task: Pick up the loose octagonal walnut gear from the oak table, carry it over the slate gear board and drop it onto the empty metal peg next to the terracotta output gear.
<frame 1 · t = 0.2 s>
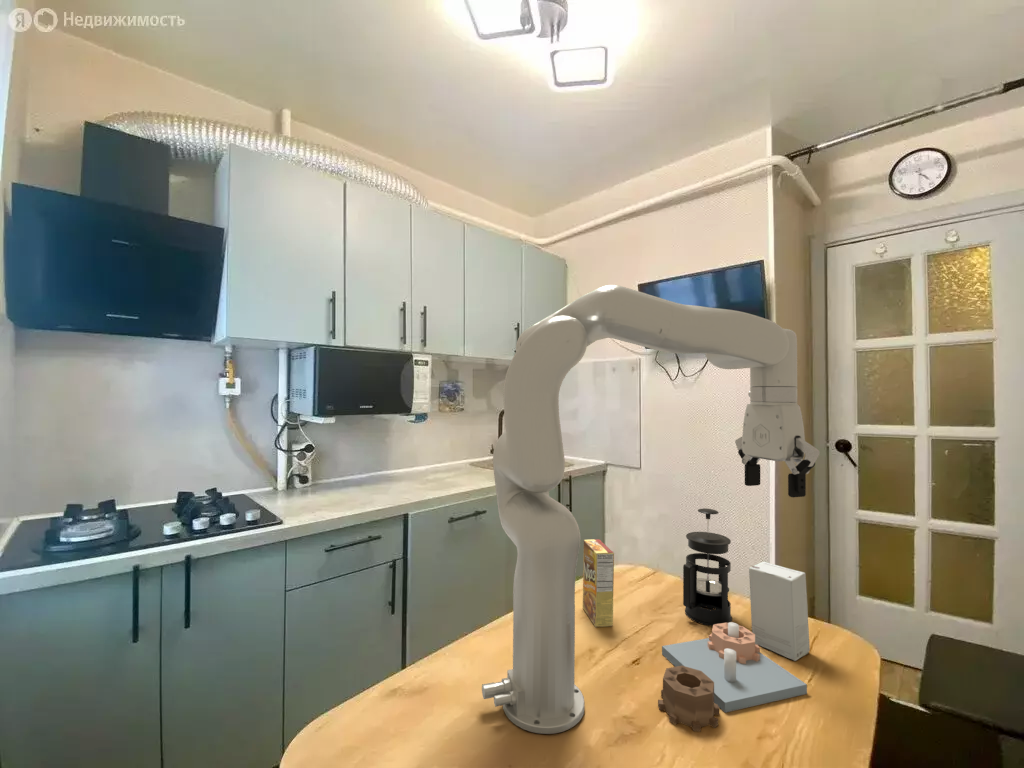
hand: (773, 490, 83), 31 cm above the table, fingers open, 9 cm apart
skincare box: (778, 648, 87), on the table
french press: (706, 617, 99), on the table
candy box: (597, 617, 99), on the table
walnut gear: (688, 710, 70), on the table
gear board: (729, 672, 79), on the table
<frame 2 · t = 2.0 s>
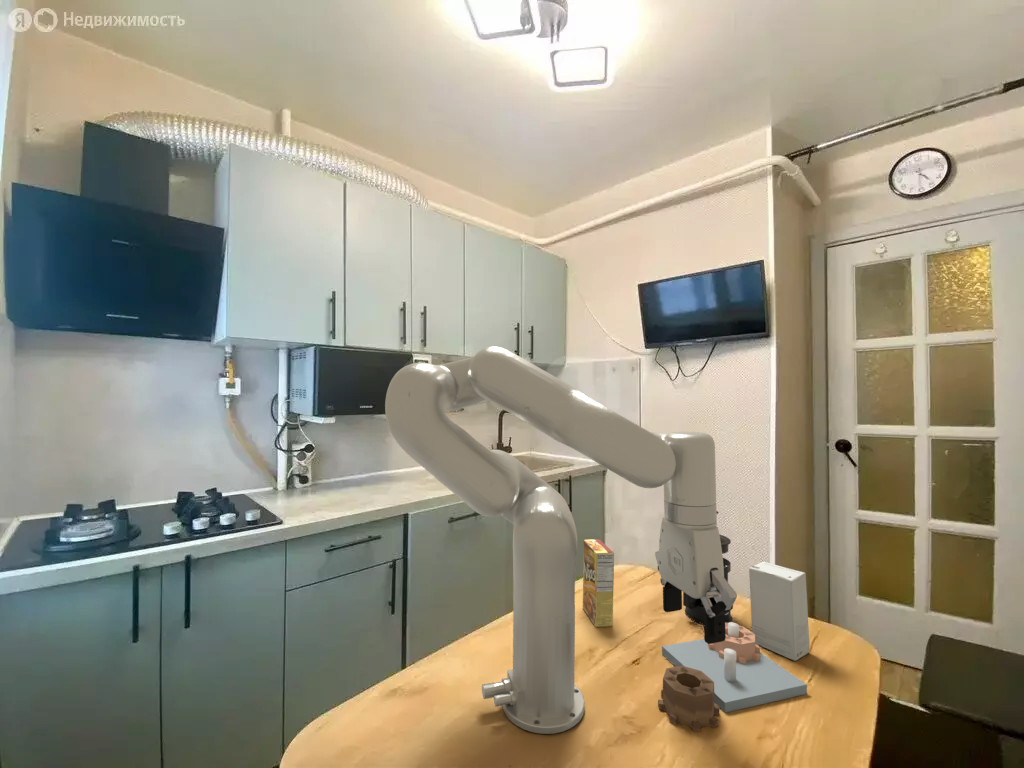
hand: (692, 625, 70), 13 cm above the table, fingers open, 9 cm apart
nothing on the table moved.
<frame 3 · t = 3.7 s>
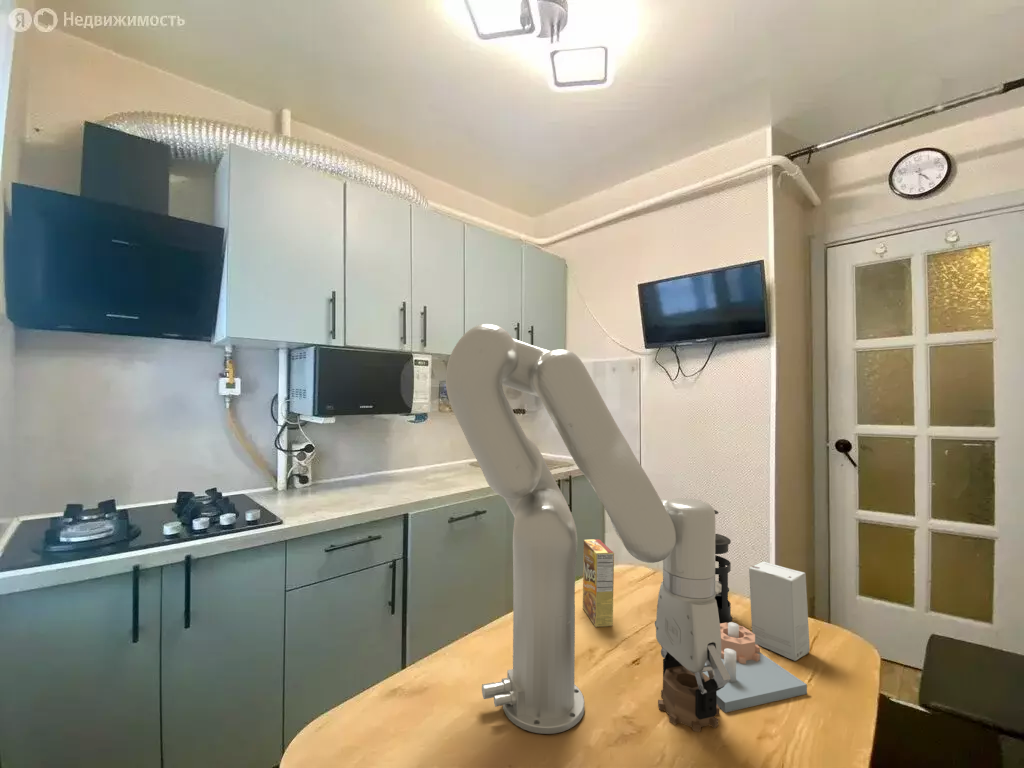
hand: (688, 698, 70), 2 cm above the table, fingers closed on walnut gear, 7 cm apart
walnut gear: (688, 710, 70), on the table, touching gripper
everything else where it was.
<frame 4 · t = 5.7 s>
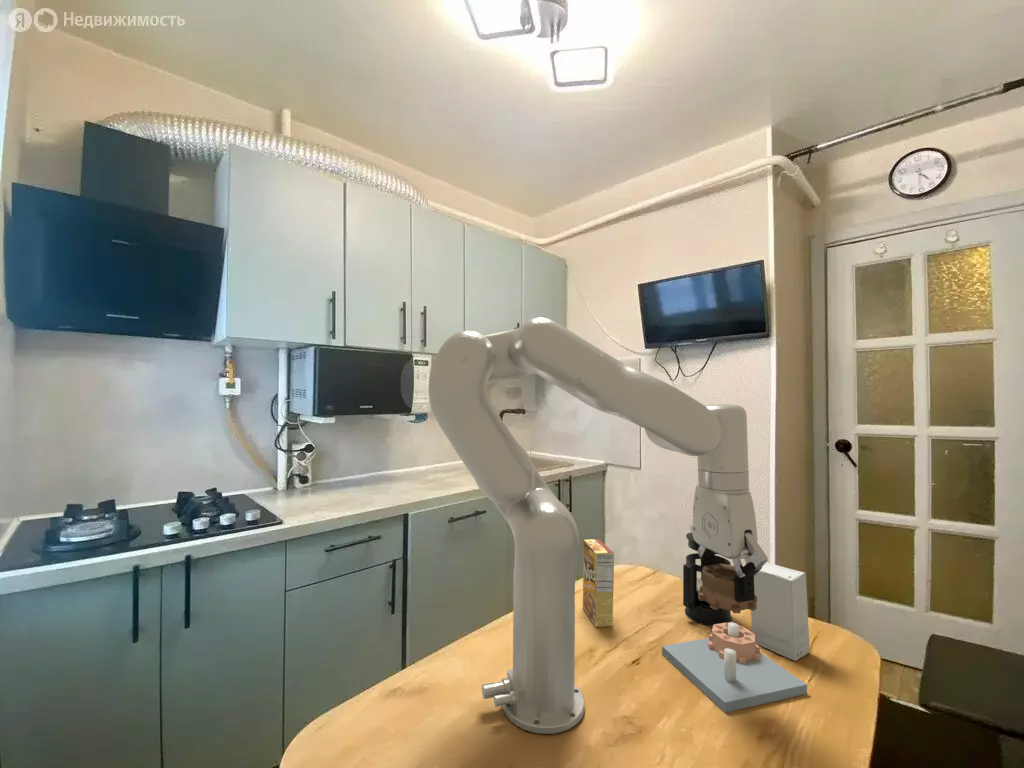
hand: (726, 589, 74), 17 cm above the table, fingers closed on walnut gear, 7 cm apart
walnut gear: (727, 600, 74), point 15 cm above the table, touching gripper
everything else where it was.
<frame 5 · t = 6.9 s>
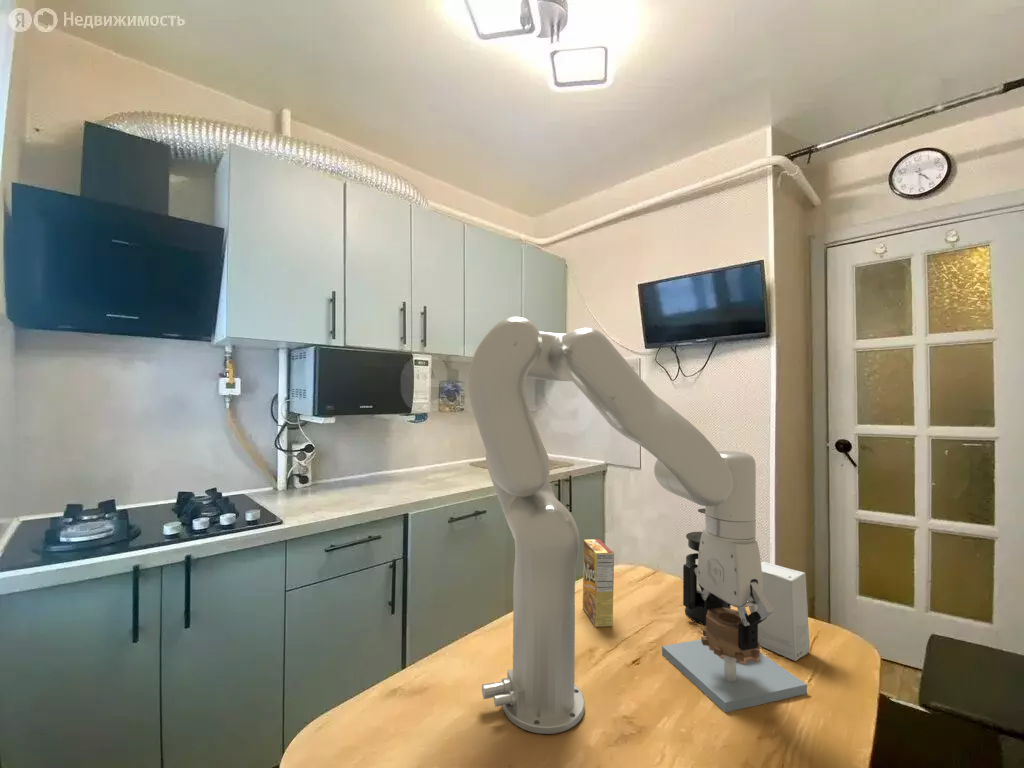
hand: (729, 634, 75), 9 cm above the table, fingers closed on walnut gear, 7 cm apart
walnut gear: (730, 645, 75), point 7 cm above the table, touching gripper
everything else where it was.
when the fingers open (9 cm above the table, at t = 7.6 s): walnut gear drops 5 cm, resting on gear board.
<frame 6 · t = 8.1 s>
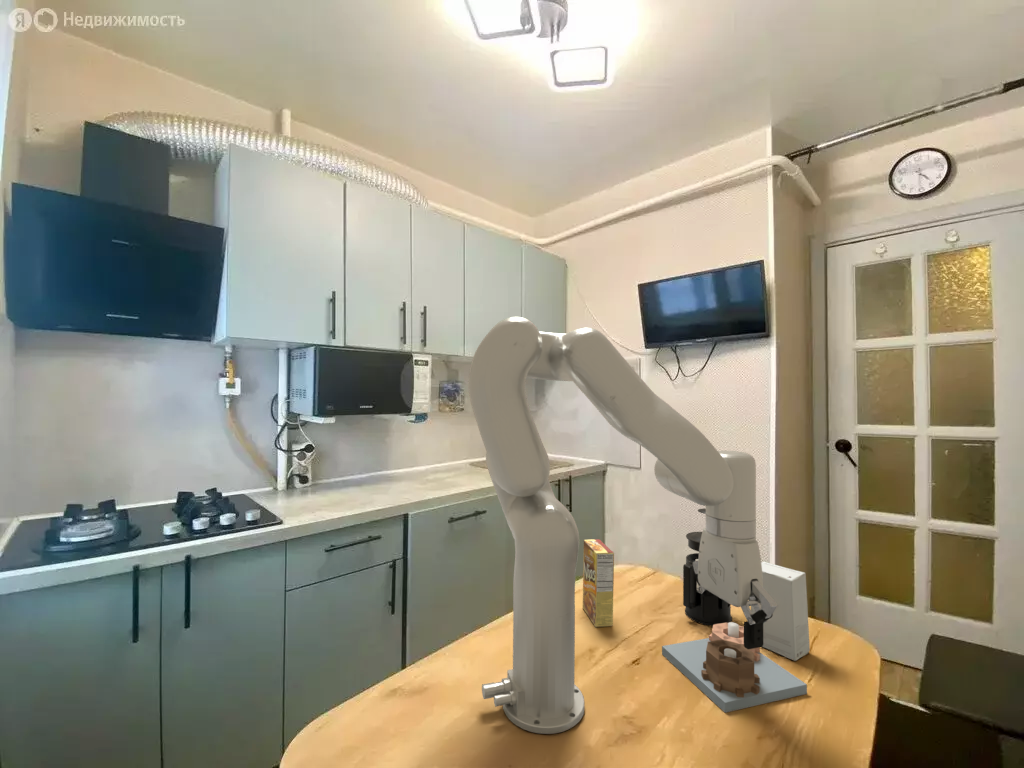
hand: (730, 631, 75), 9 cm above the table, fingers open, 9 cm apart
walnut gear: (730, 679, 75), point 1 cm above the table, touching gear board
everything else where it was.
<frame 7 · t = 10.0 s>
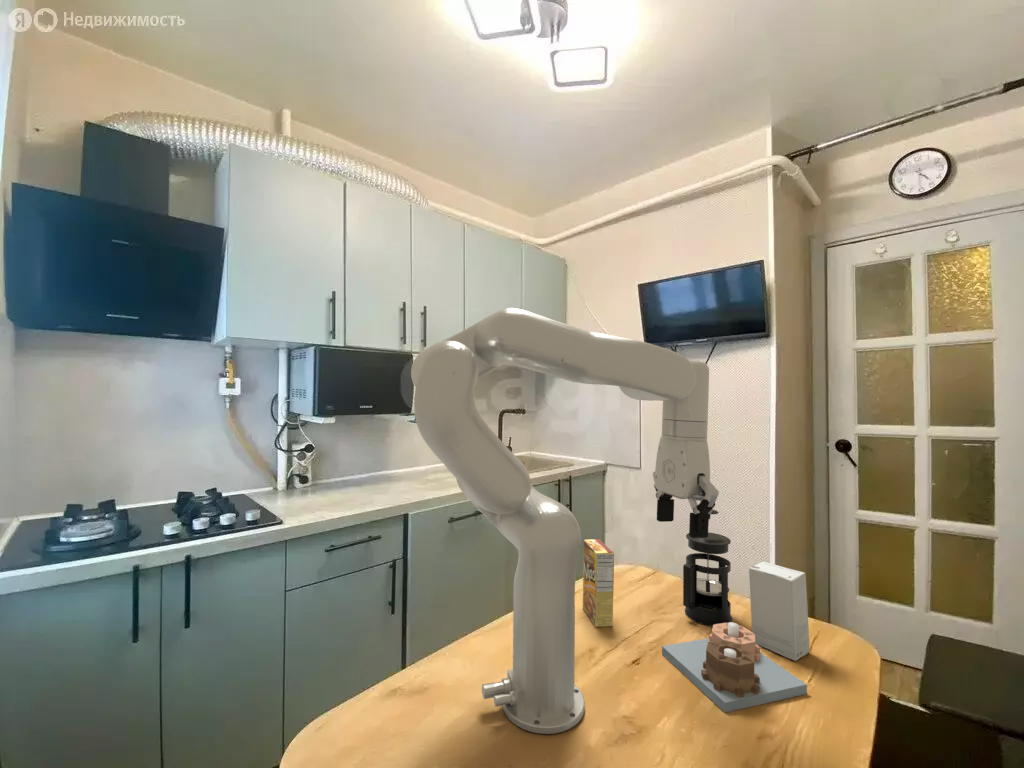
hand: (680, 528, 80), 25 cm above the table, fingers open, 9 cm apart
nothing on the table moved.
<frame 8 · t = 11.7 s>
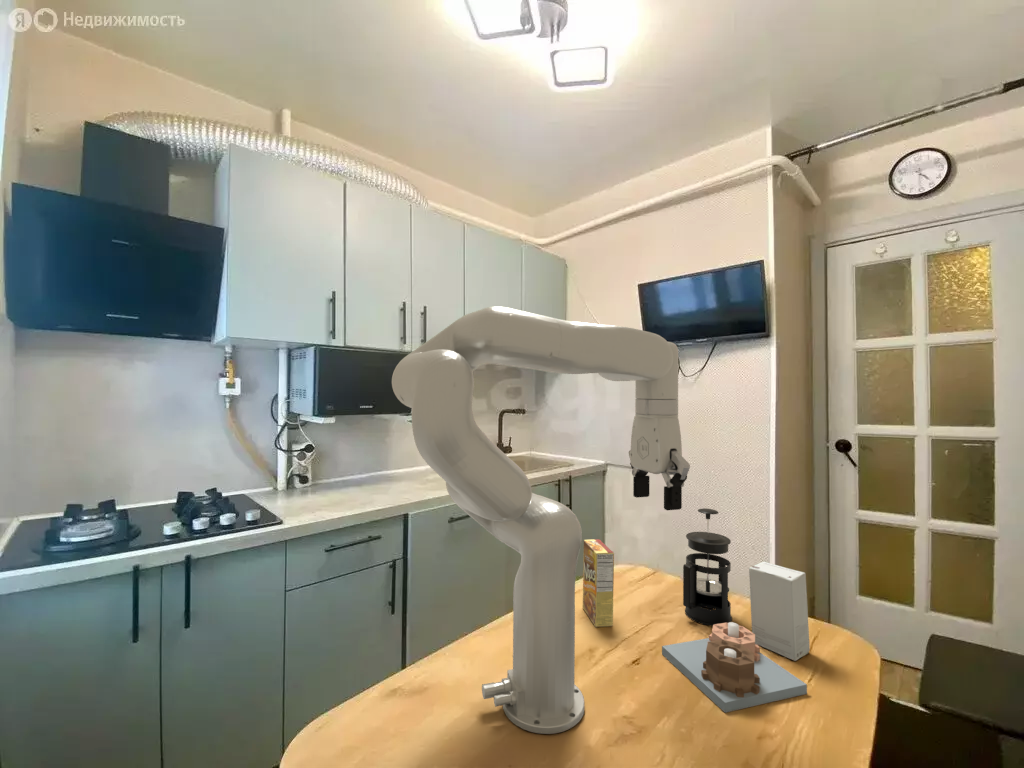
hand: (656, 502, 84), 28 cm above the table, fingers open, 9 cm apart
nothing on the table moved.
at the end: walnut gear 0.1 cm from the target spot on the gear board, point 1.5 cm above the gear board's base; the gripper is holding nothing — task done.
